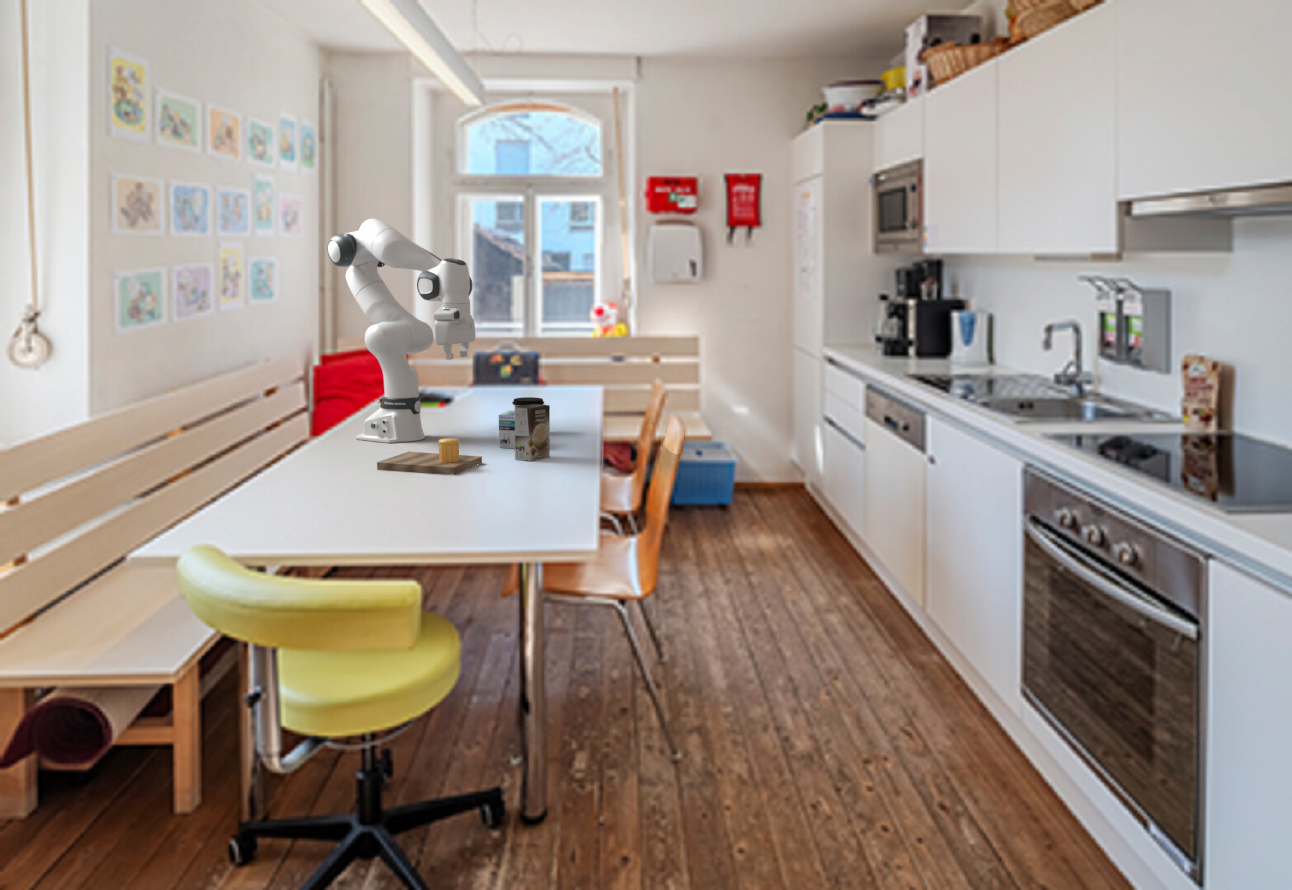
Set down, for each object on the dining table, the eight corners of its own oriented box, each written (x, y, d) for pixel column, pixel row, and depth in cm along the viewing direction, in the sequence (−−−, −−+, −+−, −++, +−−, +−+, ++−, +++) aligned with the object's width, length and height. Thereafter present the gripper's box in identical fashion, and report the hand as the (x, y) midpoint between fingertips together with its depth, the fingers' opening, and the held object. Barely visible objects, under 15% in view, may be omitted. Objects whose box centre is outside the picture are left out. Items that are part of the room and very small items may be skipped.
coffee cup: (507, 435, 351) (507, 400, 349) (520, 430, 361) (520, 396, 359) (537, 436, 348) (536, 401, 346) (549, 432, 358) (549, 397, 356)
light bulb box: (518, 449, 325) (518, 415, 323) (498, 448, 326) (497, 414, 324) (529, 443, 335) (528, 410, 333) (509, 442, 336) (508, 410, 334)
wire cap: (435, 461, 292) (435, 441, 291) (445, 458, 297) (444, 437, 296) (453, 463, 291) (453, 442, 290) (462, 459, 296) (462, 439, 295)
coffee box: (530, 461, 304) (530, 408, 301) (514, 459, 308) (513, 406, 305) (550, 457, 311) (550, 404, 309) (534, 454, 315) (533, 403, 312)
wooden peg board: (377, 469, 291) (376, 448, 290) (409, 458, 308) (408, 438, 307) (453, 474, 284) (453, 453, 283) (482, 463, 301) (481, 443, 300)
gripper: (461, 311, 323) (462, 355, 325) (430, 313, 303) (431, 360, 306) (480, 311, 321) (480, 355, 323) (449, 314, 302) (451, 361, 304)
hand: (456, 358), depth 314 cm, fingers open, 8 cm apart
